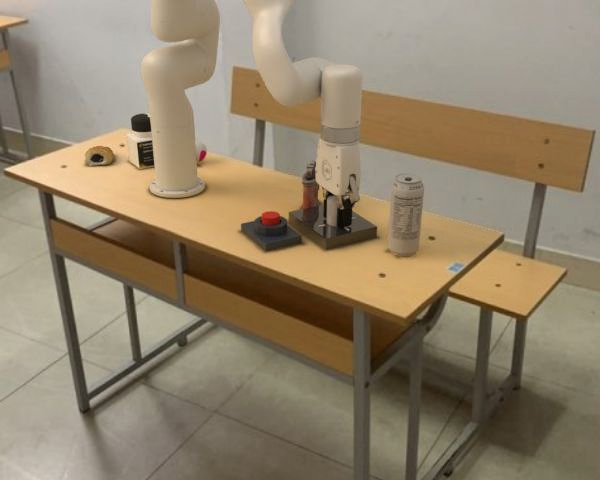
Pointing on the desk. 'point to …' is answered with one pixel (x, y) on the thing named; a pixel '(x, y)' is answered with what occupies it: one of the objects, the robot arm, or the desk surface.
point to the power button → (270, 218)
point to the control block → (271, 234)
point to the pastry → (99, 156)
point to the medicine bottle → (141, 142)
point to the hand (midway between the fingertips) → (337, 220)
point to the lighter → (310, 187)
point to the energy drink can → (405, 214)
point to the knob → (332, 210)
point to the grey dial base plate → (331, 228)
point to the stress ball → (200, 151)
